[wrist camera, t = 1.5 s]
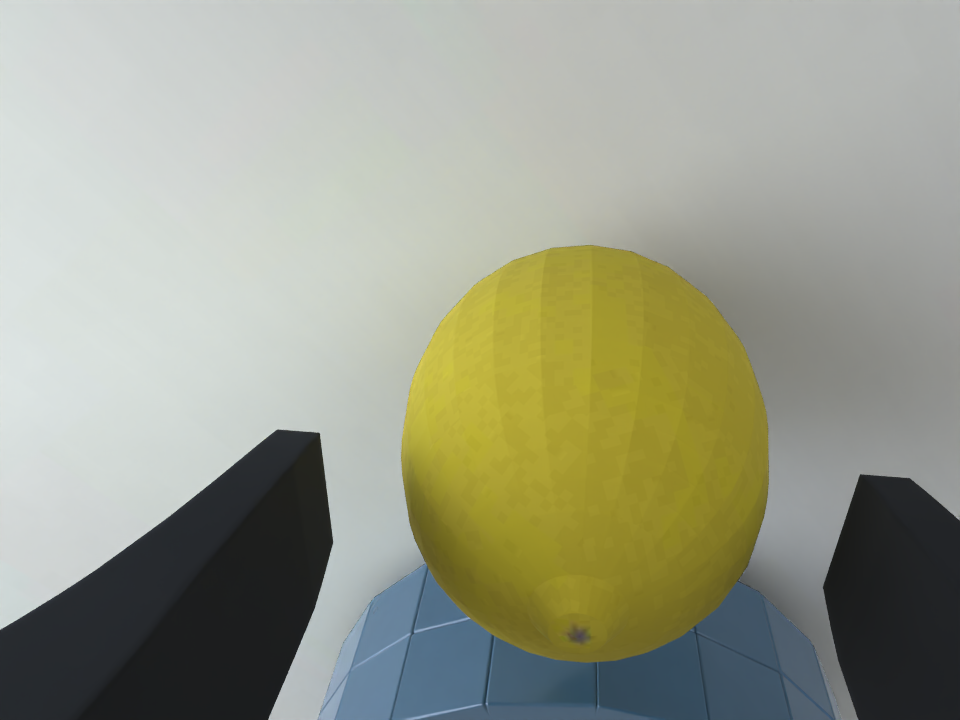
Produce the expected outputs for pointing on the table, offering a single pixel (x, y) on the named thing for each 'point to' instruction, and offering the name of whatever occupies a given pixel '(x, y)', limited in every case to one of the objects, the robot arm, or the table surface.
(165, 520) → the robot arm
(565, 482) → the lemon
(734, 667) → the bowl
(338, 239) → the table surface
